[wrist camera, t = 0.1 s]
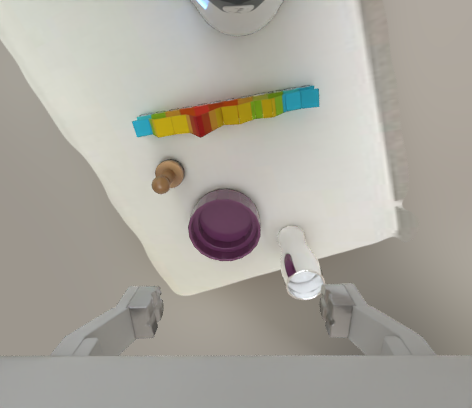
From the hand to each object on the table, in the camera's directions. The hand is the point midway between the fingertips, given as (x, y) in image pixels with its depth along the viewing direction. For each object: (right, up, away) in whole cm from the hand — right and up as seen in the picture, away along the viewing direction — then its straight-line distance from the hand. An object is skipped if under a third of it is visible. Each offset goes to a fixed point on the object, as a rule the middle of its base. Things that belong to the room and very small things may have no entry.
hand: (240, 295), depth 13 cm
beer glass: (+12, -3, +44) cm, 46 cm away
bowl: (-2, +1, +42) cm, 42 cm away
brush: (-13, +11, +38) cm, 42 cm away
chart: (-2, +21, +33) cm, 39 cm away
